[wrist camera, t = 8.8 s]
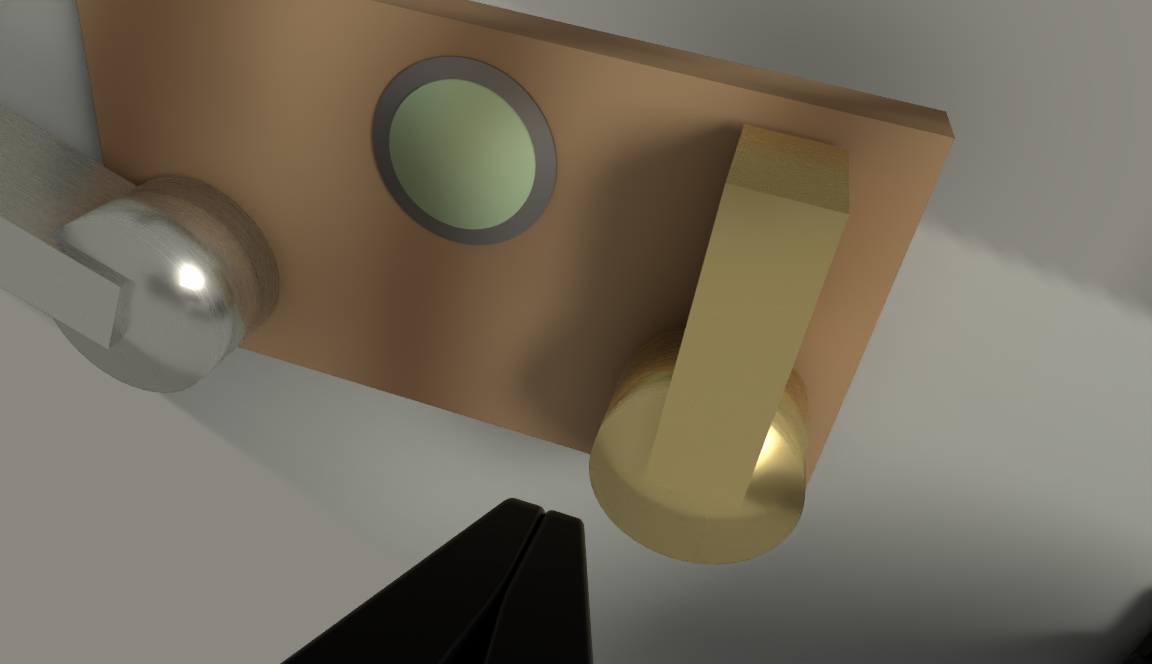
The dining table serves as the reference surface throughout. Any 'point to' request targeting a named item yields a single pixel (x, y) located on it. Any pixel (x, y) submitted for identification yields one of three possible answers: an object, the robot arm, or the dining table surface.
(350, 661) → the robot arm
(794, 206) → the brass lever
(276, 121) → the copper base
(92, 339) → the steel lever handle
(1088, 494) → the dining table surface
